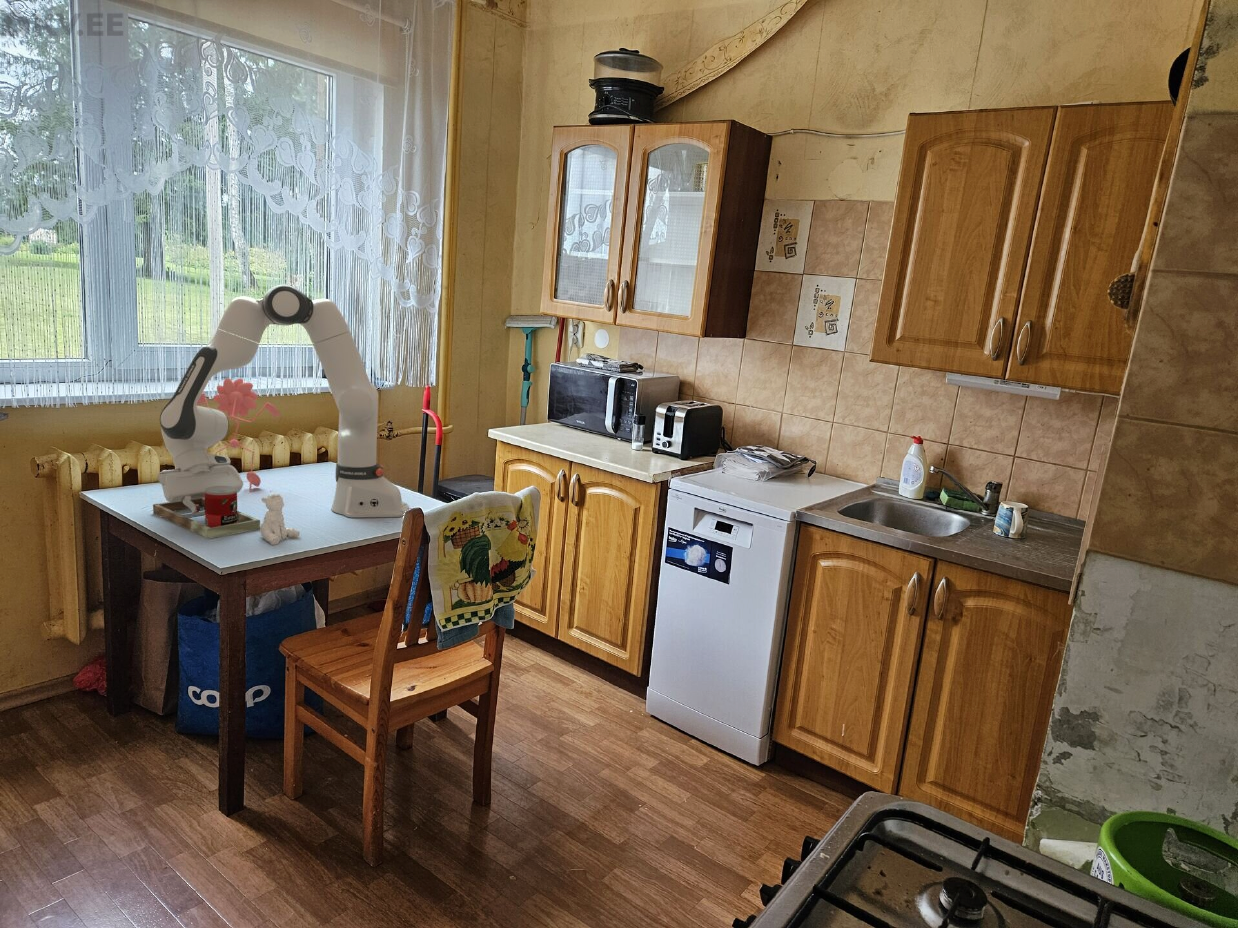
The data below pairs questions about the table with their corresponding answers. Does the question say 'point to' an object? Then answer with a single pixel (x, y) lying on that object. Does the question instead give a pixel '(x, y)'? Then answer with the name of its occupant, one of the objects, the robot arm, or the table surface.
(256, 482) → the flower headed marionette
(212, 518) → the canned food
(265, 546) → the table surface
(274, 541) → the sitting furry creature
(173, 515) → the shallow wooden tray
